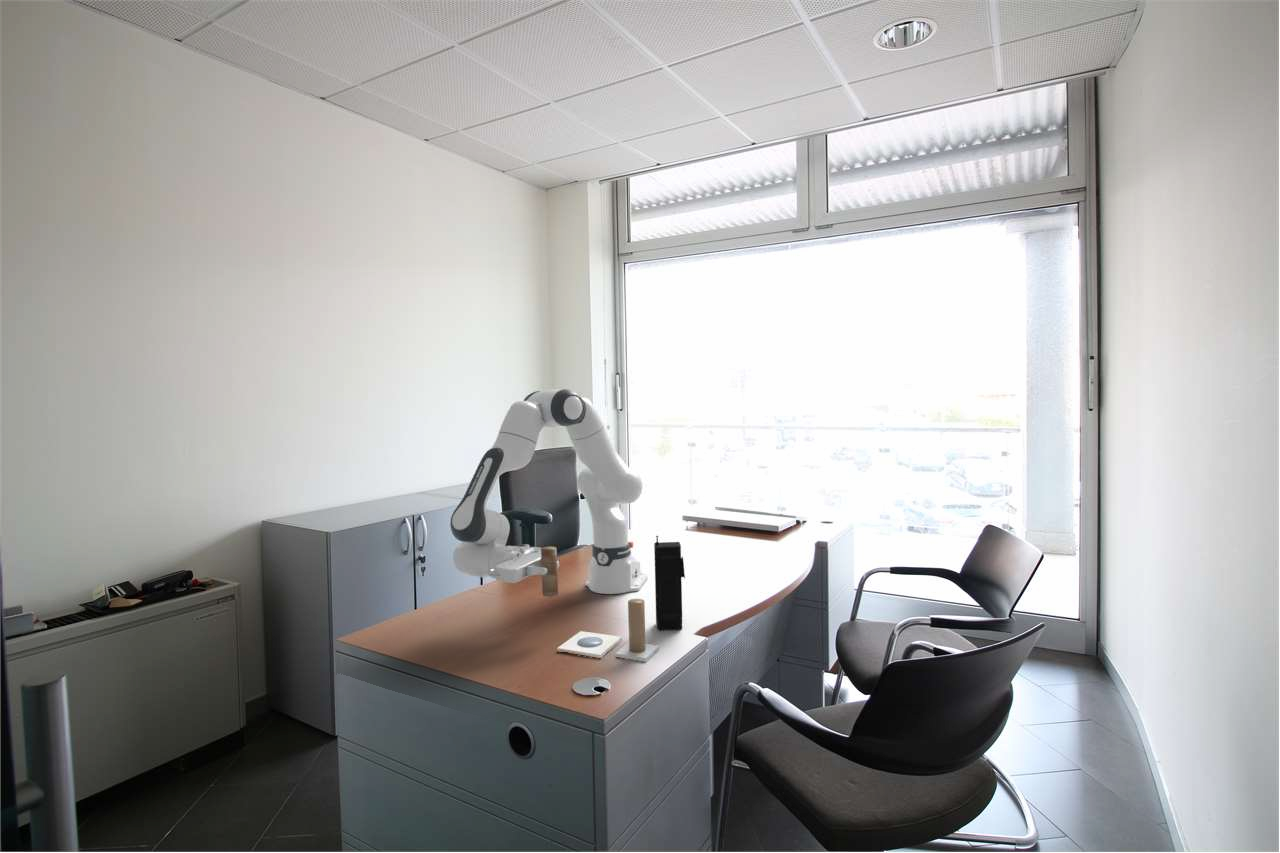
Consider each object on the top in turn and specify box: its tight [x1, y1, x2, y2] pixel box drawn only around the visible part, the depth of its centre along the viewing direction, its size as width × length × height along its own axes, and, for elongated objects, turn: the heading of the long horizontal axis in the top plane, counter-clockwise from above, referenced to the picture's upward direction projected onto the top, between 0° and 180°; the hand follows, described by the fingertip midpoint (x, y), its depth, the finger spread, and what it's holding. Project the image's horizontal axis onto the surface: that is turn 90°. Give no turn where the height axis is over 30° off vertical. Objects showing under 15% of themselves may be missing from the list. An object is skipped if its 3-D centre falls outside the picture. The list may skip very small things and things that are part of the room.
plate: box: [556, 630, 623, 658], centre depth 171 cm, size 12×12×1 cm
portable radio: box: [653, 535, 686, 631], centre depth 183 cm, size 8×6×25 cm
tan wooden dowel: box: [615, 598, 660, 663], centre depth 166 cm, size 8×8×13 cm
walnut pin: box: [540, 546, 559, 598], centre depth 176 cm, size 4×4×12 cm
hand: (552, 567), depth 175 cm, fingers closed on walnut pin, 4 cm apart
